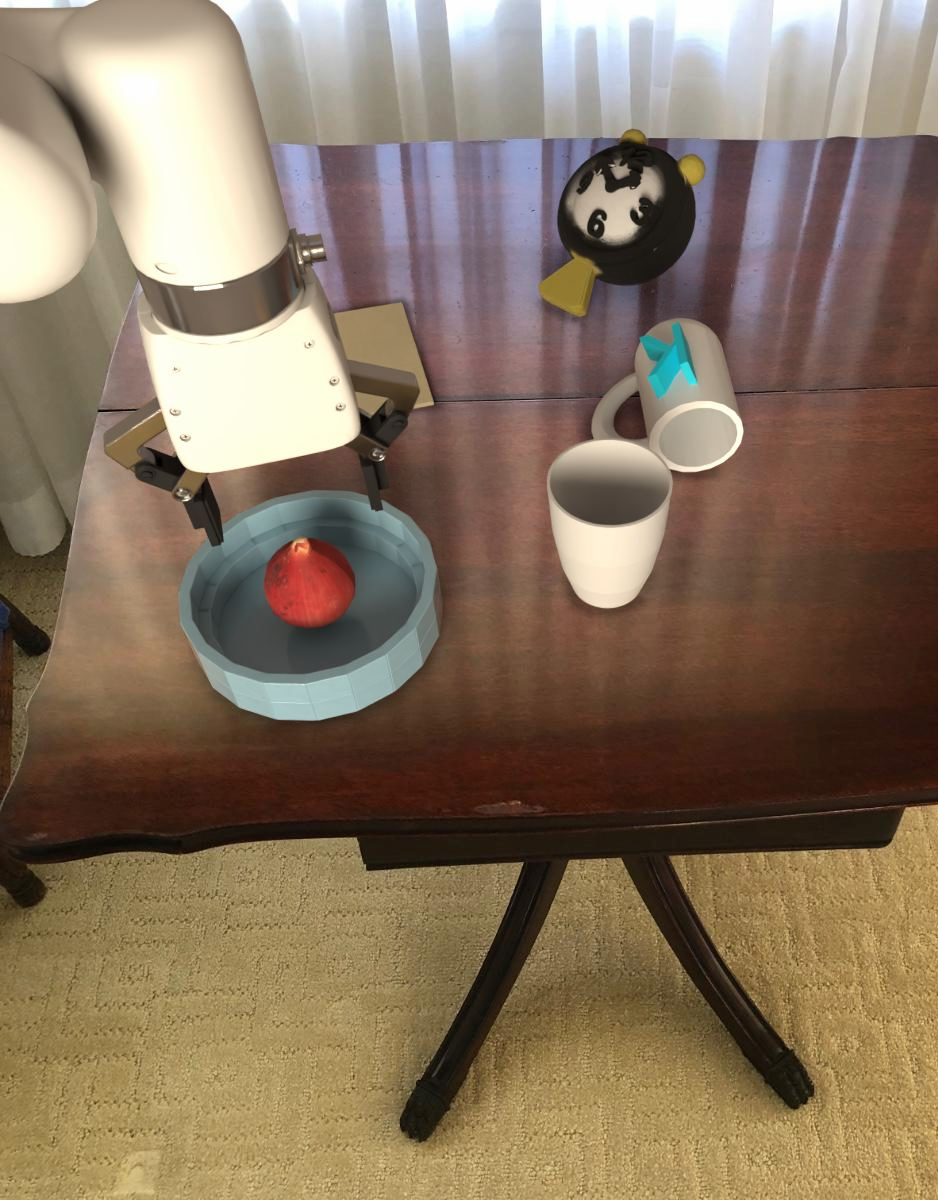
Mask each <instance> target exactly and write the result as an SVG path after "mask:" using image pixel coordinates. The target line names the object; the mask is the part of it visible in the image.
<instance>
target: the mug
mask: <svg viewBox="0 0 938 1200" xmlns="http://www.w3.org/2000/svg"><path fill="white" fill-rule="evenodd" d="M638 339H639V340H640V341H639V343H638V346H637V349H636V352H635V355H634V372H633V373H631V374H629V375H628V376H627V375H626V376H625V377H624V378H623V379H621V380H620V381H618V382H617V383H616V384H614V385H613V386H612V387H611V388H610V389H609V390H608V391H607V392H606V393H605V394H604V395H603V396H602V398H601V400H600V401H599V402H598V404H597V406H596V407H595V410H594V412H593V416H592V418H591V435H592V437H593V439H600V438H618V439H625V440H629V441H633V442H636V443H639V444H641V445H644V446H646V447H648V448H649V449H651V450H653V451H654V452H655V453H657V454H658V455H659V456H660V457H661V458H662V459H663V460H664V461H665V463H666V464H667V466H668V467H669V469H670V470H672V471H677V472H681V473H697V472H701V471H706V470H710V469H712V468H715V467H717V466H719V465H721V464H723V463H725V462H726V461H727V460H728V459H729V458H731V457H732V456H733V455H734V454H735V453H736V451H737V449H738V448H739V447H740V445H741V444H742V440H743V436H744V427H743V423H742V422H743V421H742V418H741V414H740V410H739V407H738V402H737V397H736V395H735V392H734V387H733V383H732V379H731V375H730V371H729V368H728V364H727V361H726V360H727V359H726V357H725V353H724V350H723V345H722V343H721V341H720V338H719V337H718V335H717V334H716V333H715V332H714V331H713V330H712V329H711V328H710V327H709V326H707V325H706V324H704V323H702V322H701V321H698V320H695V319H692V318H686V317H676V318H670V319H667V320H664V321H661V322H660V323H657V324H656V325H654V326H653V327H651V328H650V329H649V330H648V331H647V332H646V333H645V335H643V336H639V337H638ZM637 392H639V397H640V398H639V399H640V403H641V409H642V414H643V419H644V426H645V431H646V437H644V438H637V439H636V438H635V439H632V438H631V439H630V438H625V437H623V436H621V435H619V433H617V431H616V429H615V426H614V419H615V416H616V414H617V412H618V410H619V408H620V407H621V405H623V403H624V402H625V401H626V400H627V399H628V398H629V397H631V396H633V395H634V394H635V393H637Z"/></svg>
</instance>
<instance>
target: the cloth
mask: <svg viewBox="0 0 938 1200" xmlns="http://www.w3.org/2000/svg"><path fill="white" fill-rule="evenodd" d="M333 314H334V317H335V320H336V323H337V326H338V330H339V333H340V336H341V340H342V343H343V347H344V350H345V353H346V357H347V359H348V360H353V361H358V362H363V363H368V364H373V365H378V366H383V367H387V368H392V369H397V370H402V371H407V372H411V373H414V374H415V376H416V379H417V382H418V385H419V388H420V394H419V397H418V399H417V401H416V403H415V406H414V408H413V410H415V409H421V408H425V407H431V406H434V405H435V402H434V399H433V398H434V397H433V395H432V392H431V389H430V386H429V382H428V379H427V377H426V373H425V370H424V367H423V363H422V360H421V358H420V354H419V350H418V348H417V345H416V341H415V339H414V335H413V332H412V328H411V326H410V322H409V319H408V316H407V313H406V309H405V307H404V304H403V301H400V302H394V303H388V304H381V305H375V306H369V307H364V308H363V307H362V308H358V309H352V310H346V311H339V312H333ZM355 394H356V398H357V403H358V407H359V408H361V409H363V410H365V411H366V412H368V413H370V414H371V415H374V413H375V412H376V411H377V410H378V409H379V408H380V407H381V405H382V404H383V403H384V402H385V401H386V400H388V398H386V397H381V396H375V395H370V394H365V393H360V392H355Z"/></svg>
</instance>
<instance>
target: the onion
mask: <svg viewBox="0 0 938 1200" xmlns="http://www.w3.org/2000/svg"><path fill="white" fill-rule="evenodd" d="M263 585H264V593H265V596H266V598H267V601H268V603H269V606H270V608H271V609H272V611H273V613H274V614H275V615H277V616H278V617H279V618H281V619H282V620H283V621H285V622H286V623H288V624H290V625H293V626H298V627H303V628H315V627H322V626H325V625H327V624H330V623H333V622H335V621H336V620H337V619H339V618H340V617H341V616H342V615H344V614H345V612H346V611H347V609H348V607H349V606H350V604H351V602H352V600H353V598H354V597H355V585H356V582H355V574H354V572H353V570H352V568H351V566H350V564H349V562H348V560H347V558H346V556H345V555H344V554H343V553H342V552H341V551H340V550H338V549H337V548H335V547H334V546H333V545H331V544H329V543H328V542H324V541H321V540H318V539H315V538H305V537H302V536H299V537H297V539H295V540H292V541H290V542H288V543H287V544H285V545H283V546H282V547H281V548H280V549H278V550H277V551H276V552H275V554H274V555H273V556H272V558H271V559H270V560H269V562H268V564H267V568H266V574H265V579H264V584H263Z"/></svg>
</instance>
